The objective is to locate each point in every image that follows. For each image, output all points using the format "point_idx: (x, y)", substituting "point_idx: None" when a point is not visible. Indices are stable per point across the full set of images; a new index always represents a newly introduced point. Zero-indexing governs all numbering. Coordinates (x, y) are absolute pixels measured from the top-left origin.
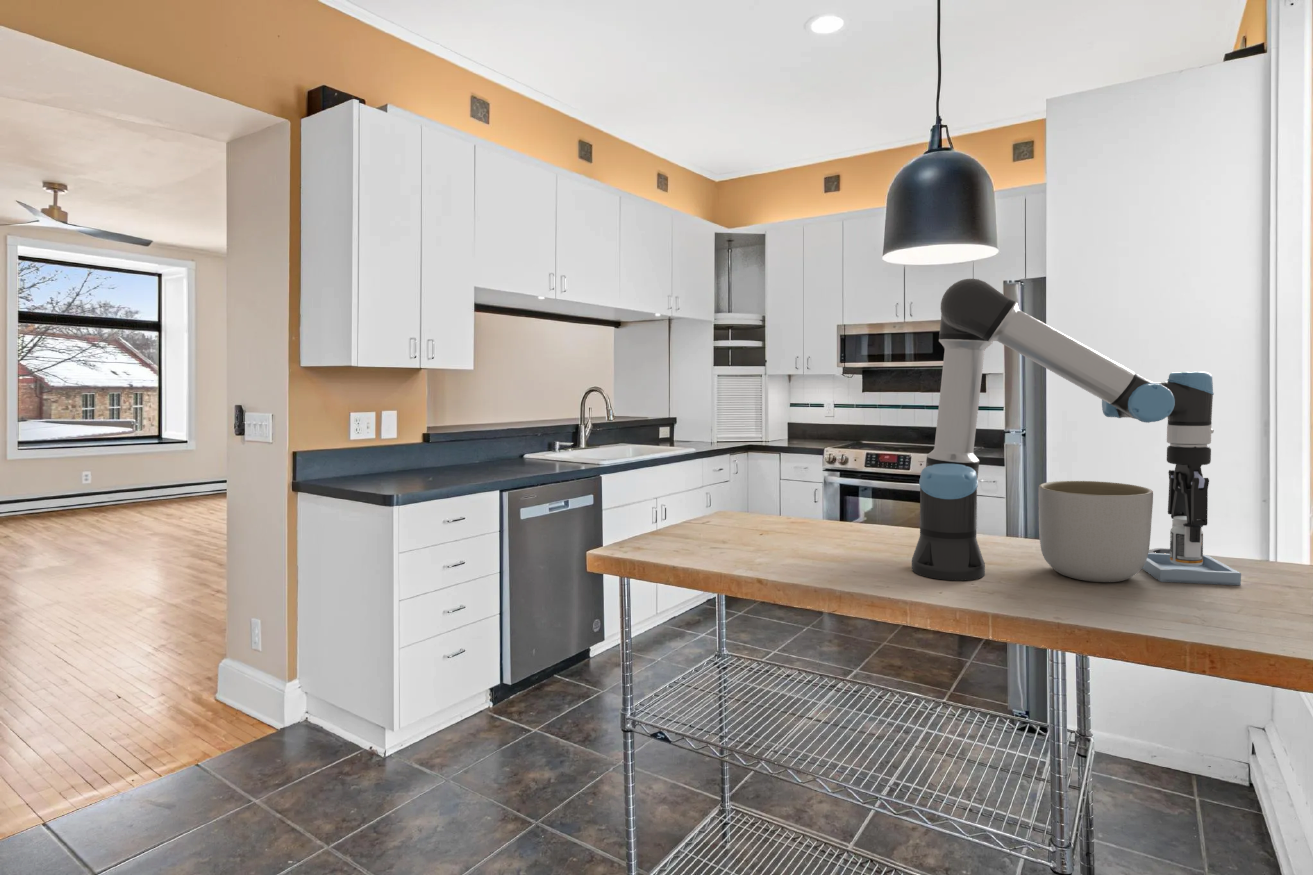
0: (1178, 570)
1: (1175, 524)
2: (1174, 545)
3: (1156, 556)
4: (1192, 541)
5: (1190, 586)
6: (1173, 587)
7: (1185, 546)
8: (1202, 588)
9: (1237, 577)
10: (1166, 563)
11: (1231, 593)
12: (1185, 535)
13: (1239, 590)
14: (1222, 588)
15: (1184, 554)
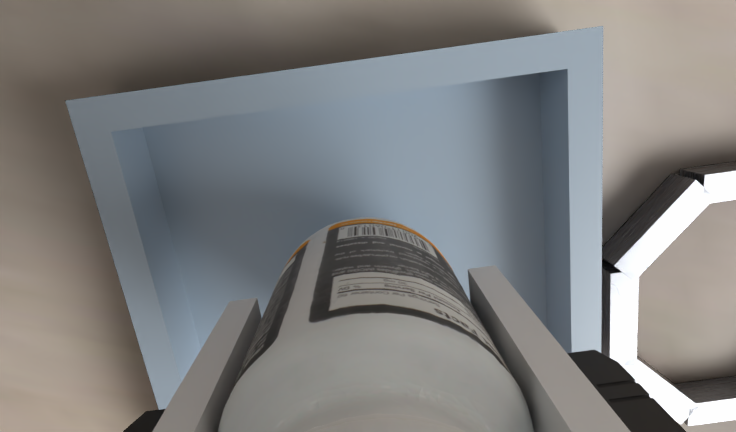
0: (100, 210)
1: (352, 420)
2: (305, 275)
3: (562, 168)
4: (140, 422)
5: (76, 235)
6: (5, 144)
7: (213, 344)
8: (61, 281)
9: None
10: (542, 215)
11: (24, 380)
12: (178, 412)
13: (104, 421)
14: (109, 365)
15: (247, 305)
